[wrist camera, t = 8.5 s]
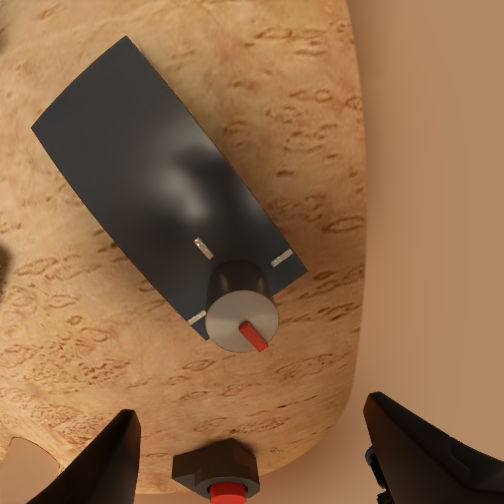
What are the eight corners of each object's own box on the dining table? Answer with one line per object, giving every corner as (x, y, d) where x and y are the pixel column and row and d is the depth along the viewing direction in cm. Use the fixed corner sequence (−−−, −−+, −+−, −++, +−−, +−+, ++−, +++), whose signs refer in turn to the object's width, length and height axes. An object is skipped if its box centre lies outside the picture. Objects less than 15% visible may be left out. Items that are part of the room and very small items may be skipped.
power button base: (234, 432, 27) (237, 471, 22) (264, 457, 29) (270, 491, 24) (168, 453, 28) (165, 489, 23) (202, 476, 30) (203, 508, 25)
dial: (195, 283, 18) (189, 321, 14) (243, 248, 18) (251, 278, 13) (232, 324, 19) (236, 367, 15) (279, 292, 19) (294, 330, 15)
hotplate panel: (52, 128, 16) (29, 127, 14) (138, 49, 16) (125, 34, 13) (224, 336, 23) (225, 361, 20) (312, 276, 22) (325, 296, 19)
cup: (69, 471, 29) (48, 555, 14) (37, 468, 29) (13, 541, 14) (33, 438, 26) (-1, 526, 11) (3, 436, 26) (-30, 511, 11)
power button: (232, 477, 23) (233, 492, 21) (251, 488, 24) (253, 502, 23) (202, 485, 23) (202, 499, 22) (222, 496, 25) (223, 509, 23)
